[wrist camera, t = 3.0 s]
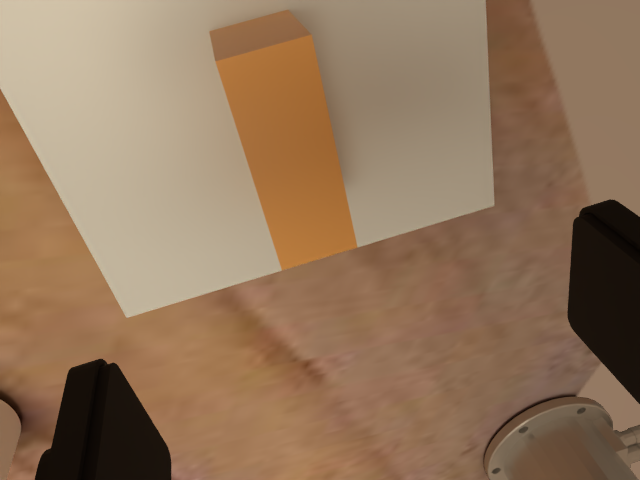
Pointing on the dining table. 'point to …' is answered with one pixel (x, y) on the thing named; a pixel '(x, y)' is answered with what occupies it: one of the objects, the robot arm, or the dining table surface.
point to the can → (8, 437)
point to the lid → (248, 128)
